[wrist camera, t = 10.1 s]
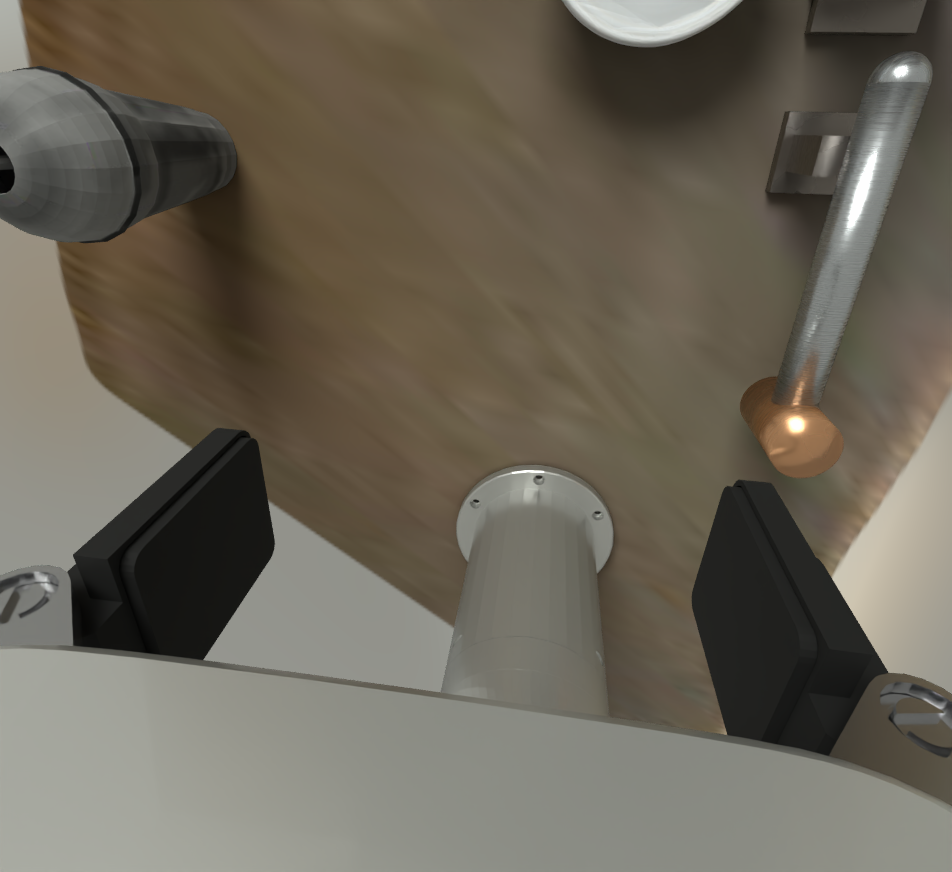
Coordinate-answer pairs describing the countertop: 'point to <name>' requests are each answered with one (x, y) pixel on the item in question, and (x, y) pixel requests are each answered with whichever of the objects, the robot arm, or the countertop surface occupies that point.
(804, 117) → the cradle
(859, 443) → the countertop surface
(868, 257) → the hook rod
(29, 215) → the beverage cup
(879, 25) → the eye post
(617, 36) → the ramekin
